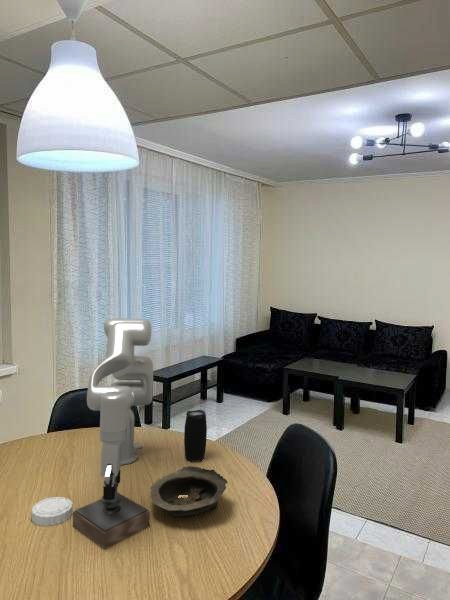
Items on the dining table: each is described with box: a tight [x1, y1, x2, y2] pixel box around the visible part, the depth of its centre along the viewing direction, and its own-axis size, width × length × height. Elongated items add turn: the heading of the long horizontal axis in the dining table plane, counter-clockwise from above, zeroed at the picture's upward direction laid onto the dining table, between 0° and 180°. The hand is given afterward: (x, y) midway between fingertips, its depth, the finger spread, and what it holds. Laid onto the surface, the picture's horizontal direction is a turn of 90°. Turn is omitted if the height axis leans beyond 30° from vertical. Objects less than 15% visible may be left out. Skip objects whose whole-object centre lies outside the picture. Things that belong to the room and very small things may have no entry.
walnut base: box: [72, 491, 151, 550], centre depth 133 cm, size 16×16×5 cm
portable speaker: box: [183, 409, 208, 463], centre depth 183 cm, size 9×9×20 cm
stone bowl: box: [149, 465, 228, 517], centre depth 145 cm, size 25×25×9 cm
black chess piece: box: [101, 474, 122, 514], centre depth 133 cm, size 6×6×12 cm
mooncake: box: [30, 496, 74, 527], centre depth 138 cm, size 12×12×4 cm
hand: (112, 490), depth 133 cm, fingers open, 9 cm apart
